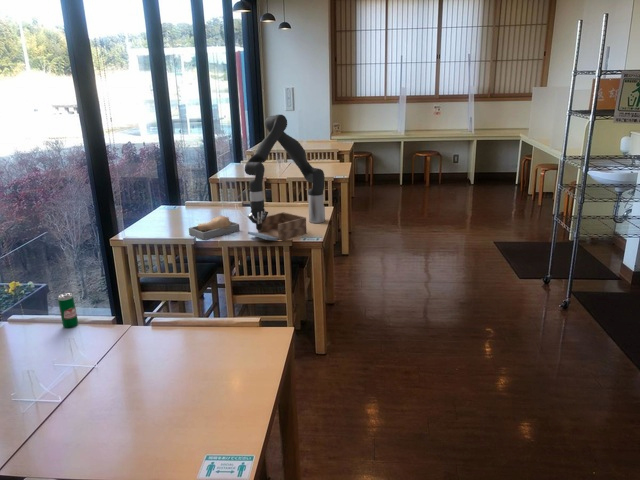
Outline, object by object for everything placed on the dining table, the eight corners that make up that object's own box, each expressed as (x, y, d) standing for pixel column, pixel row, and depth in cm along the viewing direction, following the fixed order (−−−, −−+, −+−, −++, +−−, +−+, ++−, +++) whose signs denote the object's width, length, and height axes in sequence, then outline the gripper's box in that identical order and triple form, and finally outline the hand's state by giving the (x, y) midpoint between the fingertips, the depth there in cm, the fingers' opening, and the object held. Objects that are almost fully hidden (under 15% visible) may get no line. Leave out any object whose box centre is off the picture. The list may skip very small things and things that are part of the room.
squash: (230, 233, 287) (226, 219, 283) (197, 238, 290) (192, 224, 286) (234, 225, 297) (230, 211, 293) (202, 230, 300) (198, 216, 296)
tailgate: (259, 232, 285) (247, 231, 279) (277, 238, 273) (266, 237, 267) (258, 234, 285) (247, 233, 279) (277, 240, 273) (266, 239, 267)
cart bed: (284, 227, 299) (283, 212, 296) (306, 233, 286) (306, 217, 283) (258, 234, 286) (257, 218, 284) (280, 241, 273) (279, 224, 270)
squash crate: (224, 225, 306) (224, 219, 305) (239, 230, 296) (239, 224, 294) (189, 234, 290) (188, 228, 289) (203, 239, 279) (202, 233, 278)
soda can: (66, 330, 178) (60, 299, 175) (60, 325, 181) (54, 295, 178) (80, 324, 182) (75, 294, 178) (74, 321, 185) (69, 291, 181)
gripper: (262, 196, 275) (264, 226, 280) (242, 200, 266) (245, 231, 272) (270, 197, 270) (272, 228, 275) (251, 202, 261) (253, 234, 266)
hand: (259, 229), depth 273 cm, fingers closed
